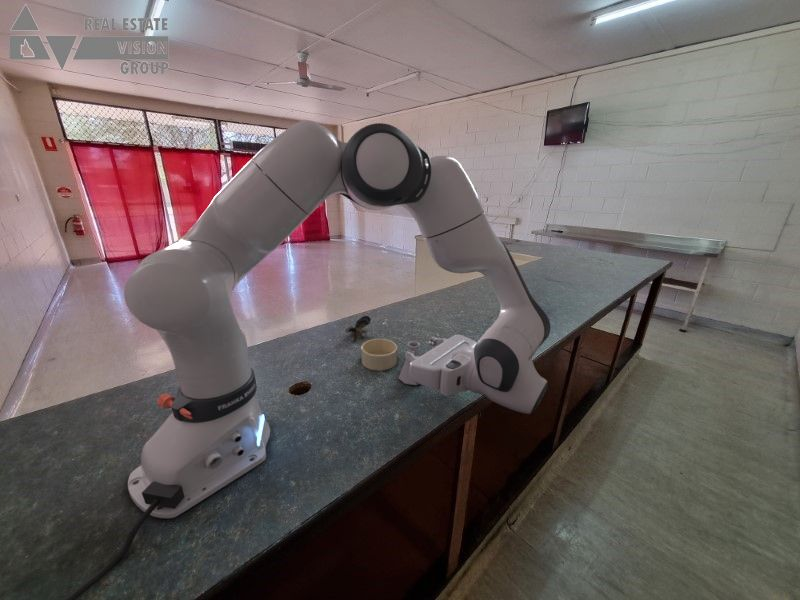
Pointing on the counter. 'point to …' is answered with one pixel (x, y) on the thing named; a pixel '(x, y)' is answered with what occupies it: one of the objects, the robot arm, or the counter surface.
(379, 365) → the beige round bowl
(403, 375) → the flask
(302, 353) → the counter surface
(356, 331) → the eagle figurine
